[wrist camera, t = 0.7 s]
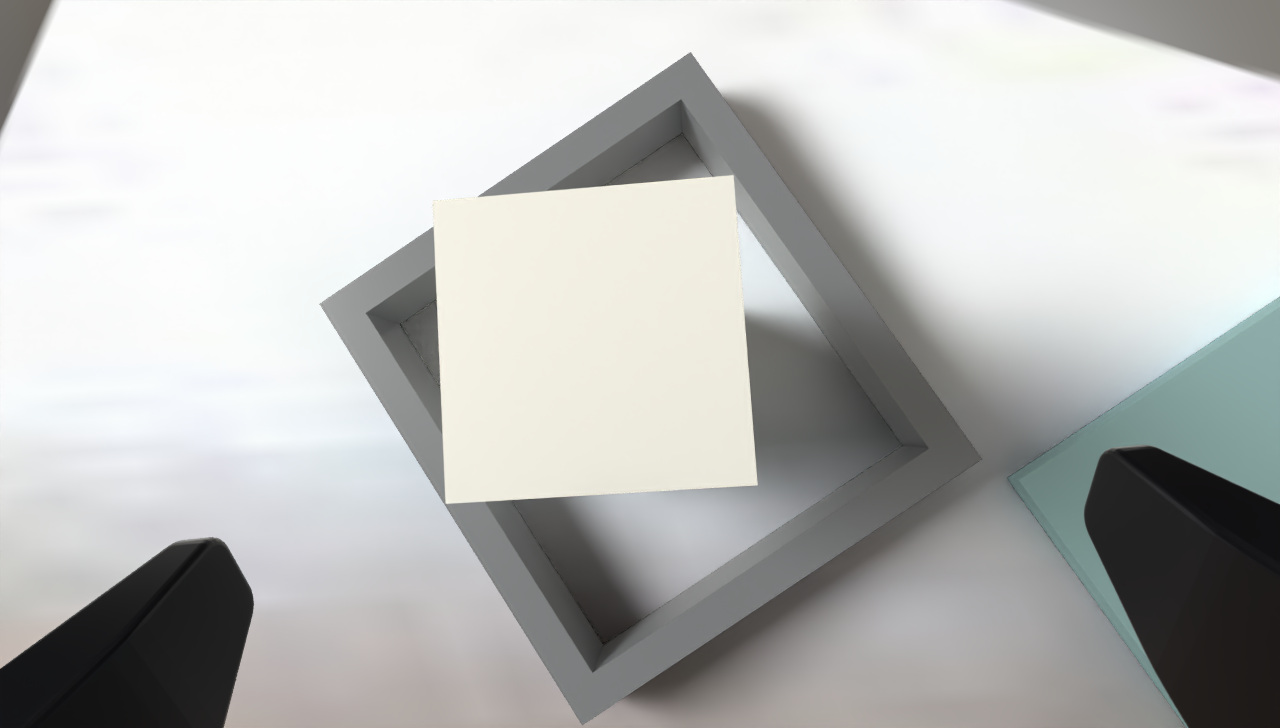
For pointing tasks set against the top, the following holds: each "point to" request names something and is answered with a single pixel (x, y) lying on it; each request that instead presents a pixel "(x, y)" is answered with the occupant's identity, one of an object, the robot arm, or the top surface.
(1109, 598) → the teal mat
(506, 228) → the block
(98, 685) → the robot arm
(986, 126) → the top surface
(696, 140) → the gray square frame
